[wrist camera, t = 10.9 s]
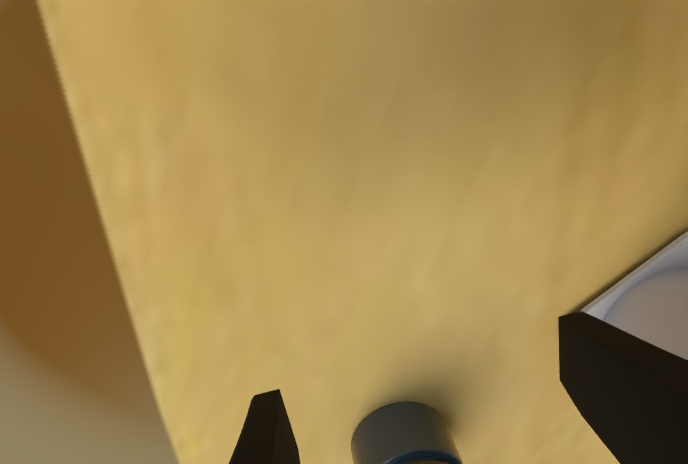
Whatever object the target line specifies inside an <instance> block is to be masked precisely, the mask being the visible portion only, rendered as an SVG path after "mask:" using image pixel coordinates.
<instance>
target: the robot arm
mask: <svg viewBox="0 0 688 464" xmlns="http://www.w3.org/2000/svg"><path fill="white" fill-rule="evenodd" d="M559 365H560V381H561V383H562V384H563V386H564V388H565V389H566V391H567V393H568V394H569V396H570V398H571V399H572V401H573V402H574V404H575V406H576V407H577V409H578V410H579V412H580V413H581V415H582V416H583V418H584V419H585V420H586V421H587V423H588V424H589V425H590V426H591V428H592V429H593V430H594V431H595V433H596V434H597V435H598V436H599V438H600V439H601V440H602V442H603V443H604V444H605V445H606V446H607V448H608V449H609V450H610V451H611V453H612V454H613V455H614V456H615V458H616V459H617V460H618V461H619V462H620V464H688V231H687V232H685V233H684V234H682V235H681V236H680V237H678V238H677V239H676V240H674V241H673V242H671V243H670V244H669V245H667V246H666V247H665V248H663V249H662V250H661V251H659V252H658V253H657V254H655V255H654V256H653V257H651V258H650V259H649V260H647V261H646V262H645V263H643V264H642V265H640V266H639V267H638V268H636V269H635V270H634V271H632V272H631V273H630V274H628V275H627V276H626V277H624V278H623V279H622V280H620V281H619V282H618V283H616V284H615V285H614V286H612V287H611V288H609V289H608V290H607V291H605V292H604V293H603V294H601V295H600V296H599V297H597V298H596V299H595V300H593V301H592V302H591V303H589V304H588V305H587V306H585V307H584V308H583V309H581V310H580V311H579V312H576V313H572V314H568V315H564V316H560V317H559ZM229 464H300V458H299V451H298V447H297V444H296V441H295V438H294V434H293V431H292V428H291V425H290V422H289V418H288V415H287V412H286V409H285V406H284V403H283V399H282V396H281V393H280V390H279V389H277V390H273V391H269V392H266V393H262V394H258V395H255V396H254V397H253V399H252V400H251V404H250V407H249V410H248V414H247V417H246V420H245V423H244V426H243V429H242V431H241V434H240V437H239V440H238V442H237V445H236V447H235V450H234V452H233V455H232V457H231V460H230V462H229Z"/></svg>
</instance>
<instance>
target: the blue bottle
mask: <svg viewBox="0 0 688 464" xmlns="http://www.w3.org/2000/svg"><path fill="white" fill-rule="evenodd" d="M351 451H352V457H353V461H354V464H463V462H462V460H461V457H460V455H459V453H458V451H457V449H456V446H455V444H454V442H453V440H452V437H451V435H450V433H449V431H448V429H447V426H446V424H445V422H444V420H443V418H442V417H441V416H440V414H439V413H438V412H436V411H435V410H434V409H432V408H430V407H429V406H426V405H424V404H420V403H414V402H402V403H395V404H391V405H388V406H385V407H383V408H380V409H378V410H377V411H375V412H373V413H372V414H370V415H369V416H368V417H367V418H365V419H364V420H363V422H362V423H361V424H360V425H359V426H358V428H357V429H356V431H355V433H354V436H353V439H352V443H351Z"/></svg>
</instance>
